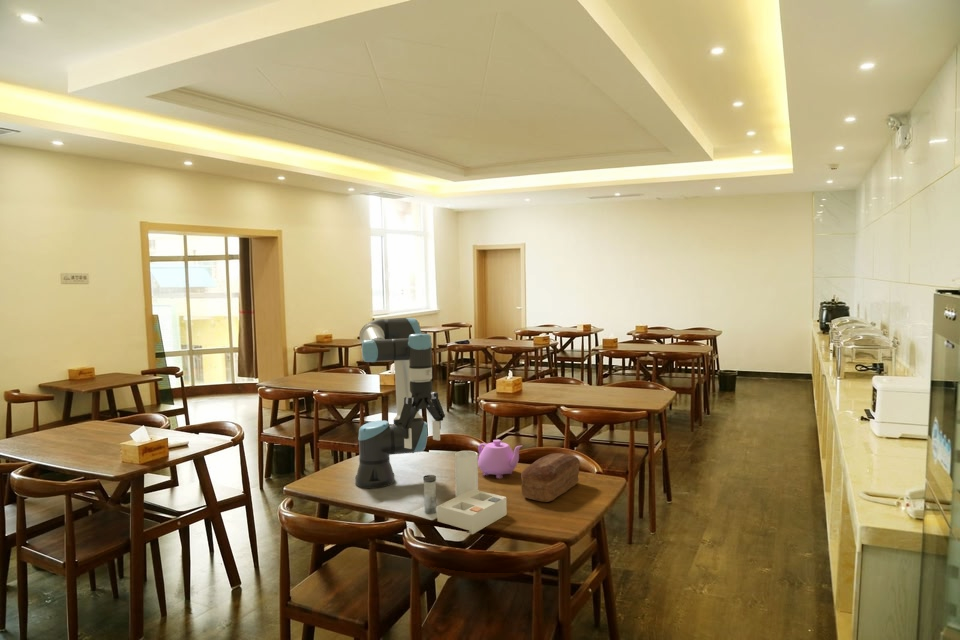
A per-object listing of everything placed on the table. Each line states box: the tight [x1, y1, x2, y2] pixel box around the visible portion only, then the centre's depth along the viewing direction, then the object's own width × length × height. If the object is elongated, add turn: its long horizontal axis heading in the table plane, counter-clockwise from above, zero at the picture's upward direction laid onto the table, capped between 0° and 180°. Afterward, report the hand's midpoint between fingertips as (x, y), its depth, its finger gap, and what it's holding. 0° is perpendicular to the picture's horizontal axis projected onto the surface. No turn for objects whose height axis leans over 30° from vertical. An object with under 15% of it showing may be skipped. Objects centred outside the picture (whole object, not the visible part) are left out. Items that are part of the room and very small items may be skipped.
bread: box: [520, 452, 581, 503], centre depth 225 cm, size 14×28×12 cm, turn 146°
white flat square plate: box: [409, 505, 438, 521], centre depth 204 cm, size 10×10×1 cm
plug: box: [422, 474, 437, 514], centre depth 204 cm, size 4×4×12 cm
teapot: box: [477, 439, 523, 480], centre depth 245 cm, size 22×16×14 cm
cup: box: [454, 450, 479, 497], centre depth 220 cm, size 8×8×16 cm
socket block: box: [436, 489, 508, 535], centre depth 200 cm, size 14×19×6 cm
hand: (422, 444), depth 203 cm, fingers open, 13 cm apart
